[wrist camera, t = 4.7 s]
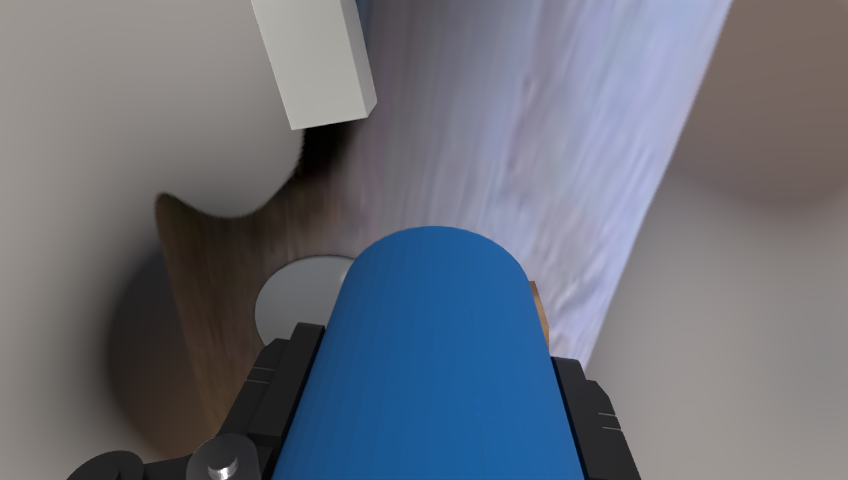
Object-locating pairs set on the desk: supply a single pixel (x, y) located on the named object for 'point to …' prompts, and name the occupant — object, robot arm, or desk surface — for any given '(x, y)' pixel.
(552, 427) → the beverage can
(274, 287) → the coaster
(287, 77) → the white block
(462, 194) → the desk surface
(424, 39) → the desk surface
